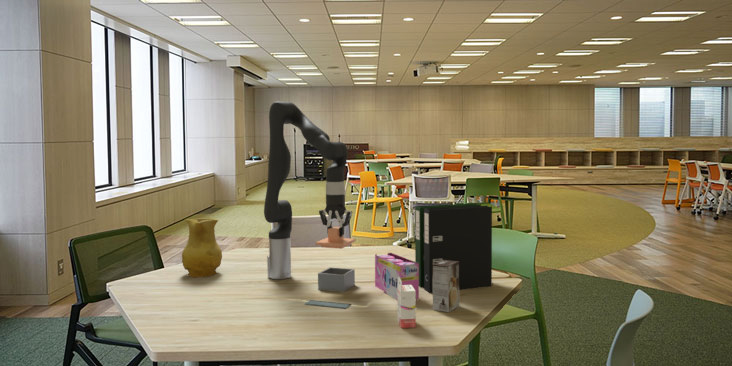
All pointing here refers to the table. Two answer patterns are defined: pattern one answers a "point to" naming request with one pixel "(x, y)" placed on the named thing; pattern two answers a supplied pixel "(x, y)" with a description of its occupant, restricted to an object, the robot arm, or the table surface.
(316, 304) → the mat
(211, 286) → the table surface
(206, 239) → the pitcher
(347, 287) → the box
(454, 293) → the coffee box
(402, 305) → the ink cartridge box
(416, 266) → the gum box
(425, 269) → the binder
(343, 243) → the lid
